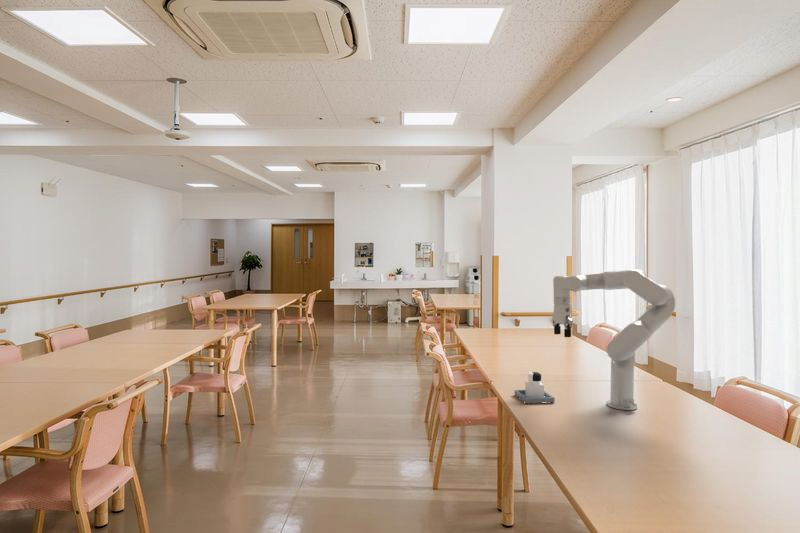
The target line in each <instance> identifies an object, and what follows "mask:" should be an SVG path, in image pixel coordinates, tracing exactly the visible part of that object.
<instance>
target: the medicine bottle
mask: <svg viewBox="0 0 800 533" xmlns="http://www.w3.org/2000/svg"><path fill="white" fill-rule="evenodd" d="M527 377H528V378H527V380H526V381H525V382H524V383H525V386H524V387H525V388H524V390H525V395H526V397H527V398H544V391H545V385H544V384H543V383H542V374H541V373H540V372H537V371H530V372H528V373H527Z"/></svg>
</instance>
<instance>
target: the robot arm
mask: <svg viewBox="0 0 800 533" xmlns="http://www.w3.org/2000/svg"><path fill="white" fill-rule="evenodd" d="M552 282H553V284H552V285H553V316H552V323H553V330H554V331H553V333H554V335H561V328H562V327H561V325H563V327H564V329H563V331H564V333H563V334H564V338H571V337H572V328H573V322H574V320H573V316H572V307H571V298H570V297H571V295H570V294H571V292H580V291H588V290H589V291H590V290H607V291H613V290H626V289H628V290H630V291H631V292H633V293H634V294H635V295H637V296H638V297H640V298H641V299H643V301H645V302H647V303H649V304H650V307H649V308H647V310H645V312H644V313H642V314H641V316H639V317H638V318H637V319H636V320H634V321H633V322H631V323H629V324H628V325H626V326H625V327H624V328H623V329H622V330H621V331H620V332H619V333H618V334H617V335H615V337H614V338H613V339H612V340H611V341H609V342H608V344H607V346H606V354H607V356H608V357H609V358H610V359H611V360H610V396H609V397H610V399H608V400H606V406H608V407H610V408H612V409H615V410H616V409H617V410H623V411H633V410H637V409H638V404H637V403H635V398H634V396H635V394H634V391H635V390H634V389H635V388H634V387H635V386H634V385H635V384H634V382H635V381H634V380H635V358H636V351H638V350H639V349H640V347H642V346H643V344H645V343H646V342H648V340H650V339H651V337H652V336H653V335H654V333H655V332H657V331H658V330H659V329H660V328H661V327H662V326H663V325H664V324H665V323H666V322H667V321H668V320H669V319H670V318H671V316H672V314H673V313H674V310H675V307H676V299H675V295H674V293H673V291H672V290H671V288H669V287H668V286H667V285H664V284H658V283H657V282H655V281H654V280H652V279H651V278H649V277H647V274H646V272H645V271H643V270H642V269H640V268H639V269H638V268H636V269H635V268H634V269H625V270H624V269H621V270H612V271H604V272H601V273H594V274H593V273H592V274H582V275H580V274H579V275H571V276H568V275H555V276H554V277H553V280H552Z"/></svg>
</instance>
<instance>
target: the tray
mask: <svg viewBox="0 0 800 533" xmlns="http://www.w3.org/2000/svg"><path fill="white" fill-rule="evenodd" d="M513 392H514V393H513V394H515V395H516V396H517V397H519V398H520V399H521V400H522V401H523V402H522V401H521V400H520V399H519V398H518V399H519V400H520V401H521V402H522V403H524V402H525V403H542V402H554V403H555V397H554V396H553V395H551V394H549V393H548V392H546V391H545V390H544V396H545V397H544V398H527V397H526V395H525V389H514V390H513ZM515 395H514V396H515ZM516 396H515V397H516ZM517 397H516V398H517ZM525 403H524V404H525Z"/></svg>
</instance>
